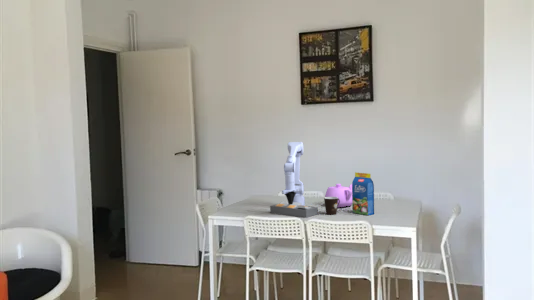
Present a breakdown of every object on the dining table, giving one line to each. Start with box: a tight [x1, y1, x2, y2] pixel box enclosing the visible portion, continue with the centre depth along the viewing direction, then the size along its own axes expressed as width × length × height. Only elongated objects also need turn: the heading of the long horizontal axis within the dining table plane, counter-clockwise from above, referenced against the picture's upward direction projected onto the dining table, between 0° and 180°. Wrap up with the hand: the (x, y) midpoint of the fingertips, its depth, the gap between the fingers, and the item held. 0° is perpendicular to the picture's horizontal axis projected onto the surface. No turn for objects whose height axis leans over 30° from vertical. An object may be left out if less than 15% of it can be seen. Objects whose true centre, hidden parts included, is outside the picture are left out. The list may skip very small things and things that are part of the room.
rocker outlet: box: [297, 205, 313, 209], centre depth 290 cm, size 9×6×1 cm, turn 140°
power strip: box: [269, 203, 319, 219], centre depth 296 cm, size 12×28×4 cm, turn 50°
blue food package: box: [351, 171, 375, 216], centre depth 290 cm, size 6×12×25 cm, turn 39°
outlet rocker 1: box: [275, 200, 289, 207], centre depth 302 cm, size 9×6×1 cm, turn 140°
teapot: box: [324, 183, 352, 209], centre depth 318 cm, size 23×21×15 cm
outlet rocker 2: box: [286, 202, 301, 208], centre depth 296 cm, size 9×6×1 cm, turn 140°
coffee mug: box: [323, 196, 340, 216], centre depth 292 cm, size 12×9×10 cm
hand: (290, 204), depth 294 cm, fingers closed
